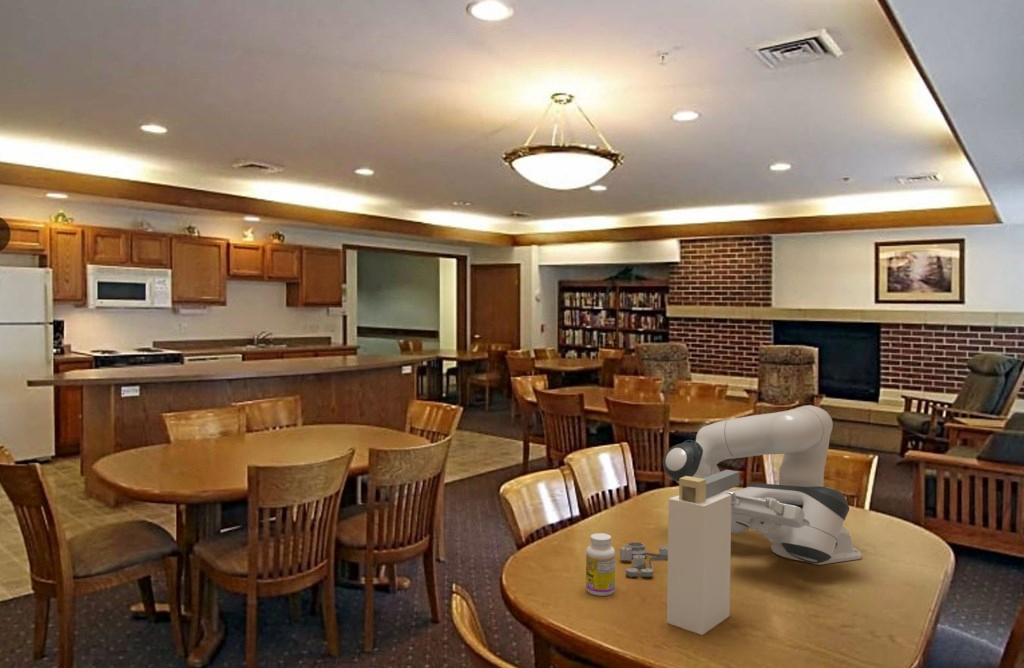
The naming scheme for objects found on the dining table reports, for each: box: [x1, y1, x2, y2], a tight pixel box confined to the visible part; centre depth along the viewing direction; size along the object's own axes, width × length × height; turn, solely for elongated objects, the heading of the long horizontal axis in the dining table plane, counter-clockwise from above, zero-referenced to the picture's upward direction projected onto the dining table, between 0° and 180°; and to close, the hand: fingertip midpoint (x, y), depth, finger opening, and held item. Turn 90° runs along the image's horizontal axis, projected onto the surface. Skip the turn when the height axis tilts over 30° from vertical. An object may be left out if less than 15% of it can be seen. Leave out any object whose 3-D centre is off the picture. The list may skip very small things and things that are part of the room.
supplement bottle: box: [585, 532, 616, 597], centre depth 163 cm, size 7×7×13 cm
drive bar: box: [678, 469, 740, 504], centre depth 151 cm, size 20×4×4 cm, turn 137°
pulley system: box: [619, 541, 668, 578], centre depth 183 cm, size 27×5×15 cm
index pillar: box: [666, 493, 732, 636], centre depth 148 cm, size 12×8×26 cm, turn 137°
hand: (748, 498), depth 165 cm, fingers open, 8 cm apart
